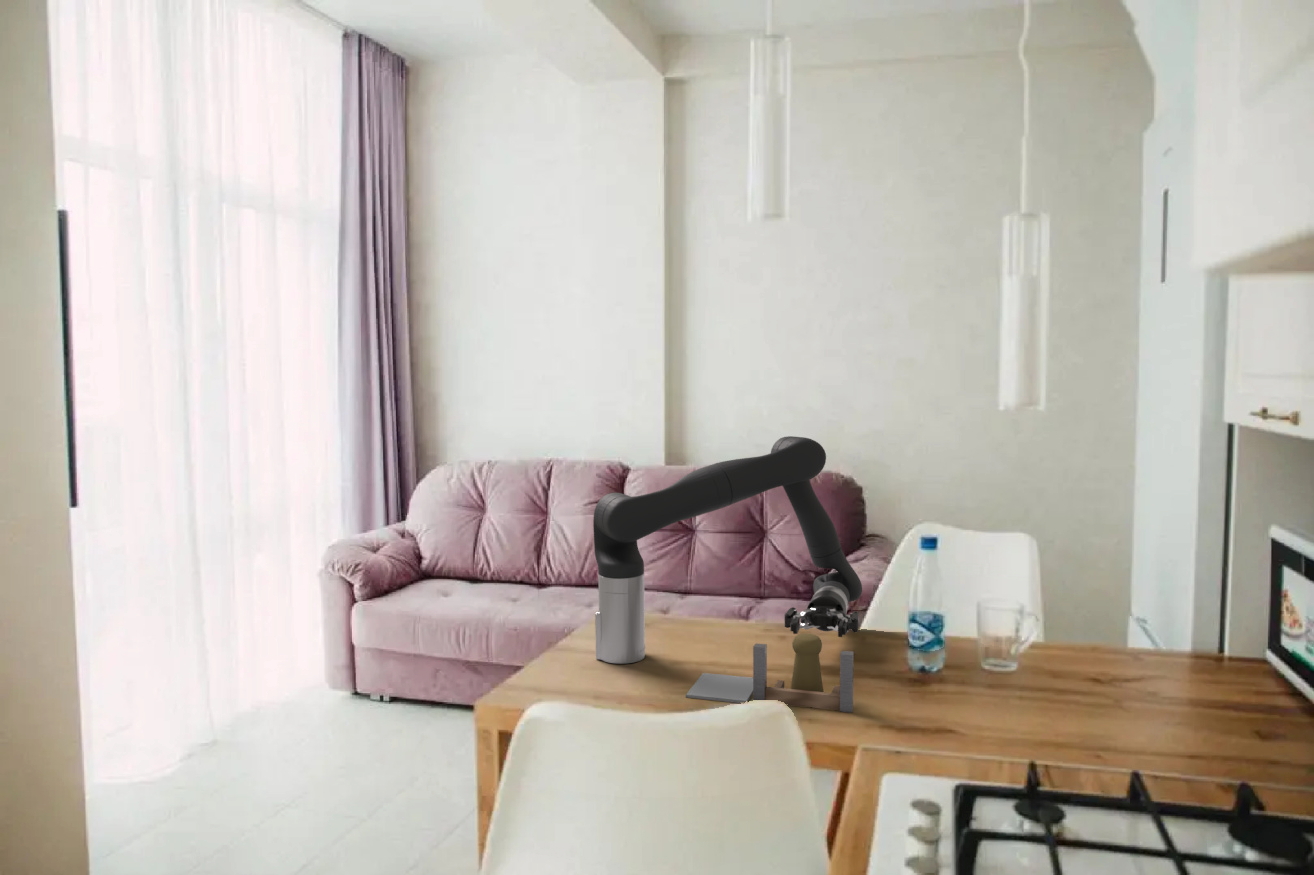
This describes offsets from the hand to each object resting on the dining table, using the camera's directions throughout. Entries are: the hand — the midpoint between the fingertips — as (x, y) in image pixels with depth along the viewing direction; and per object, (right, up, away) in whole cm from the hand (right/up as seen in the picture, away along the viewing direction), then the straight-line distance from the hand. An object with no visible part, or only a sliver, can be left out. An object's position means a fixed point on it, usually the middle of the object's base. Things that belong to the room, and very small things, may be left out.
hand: (817, 630), depth 176 cm
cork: (-4, -10, -10) cm, 15 cm away
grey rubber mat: (-18, -9, -7) cm, 21 cm away
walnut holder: (-4, -10, -12) cm, 16 cm away
